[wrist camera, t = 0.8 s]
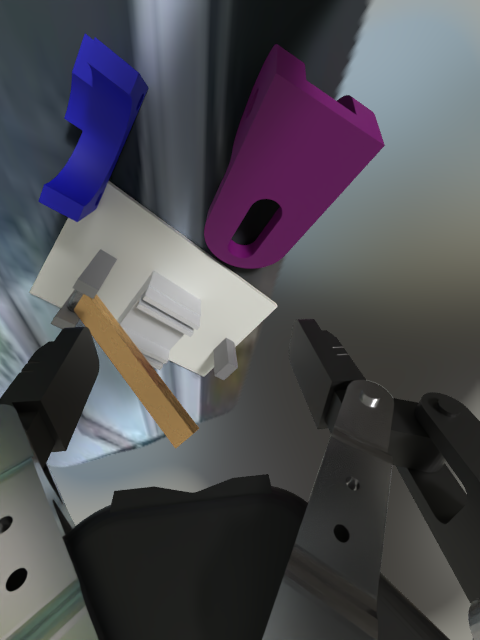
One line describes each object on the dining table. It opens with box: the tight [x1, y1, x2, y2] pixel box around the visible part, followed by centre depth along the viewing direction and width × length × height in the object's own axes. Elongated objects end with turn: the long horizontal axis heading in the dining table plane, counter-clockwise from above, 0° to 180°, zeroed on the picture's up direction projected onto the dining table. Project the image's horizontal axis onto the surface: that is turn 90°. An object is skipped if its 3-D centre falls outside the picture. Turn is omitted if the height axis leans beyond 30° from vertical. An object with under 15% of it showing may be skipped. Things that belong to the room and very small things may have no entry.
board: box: [29, 181, 277, 380], centre depth 34 cm, size 17×26×8 cm, turn 49°
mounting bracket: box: [204, 44, 384, 268], centre depth 29 cm, size 9×8×18 cm
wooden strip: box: [67, 290, 199, 448], centre depth 28 cm, size 19×3×1 cm
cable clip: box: [38, 34, 148, 222], centre depth 23 cm, size 12×4×6 cm, turn 145°
